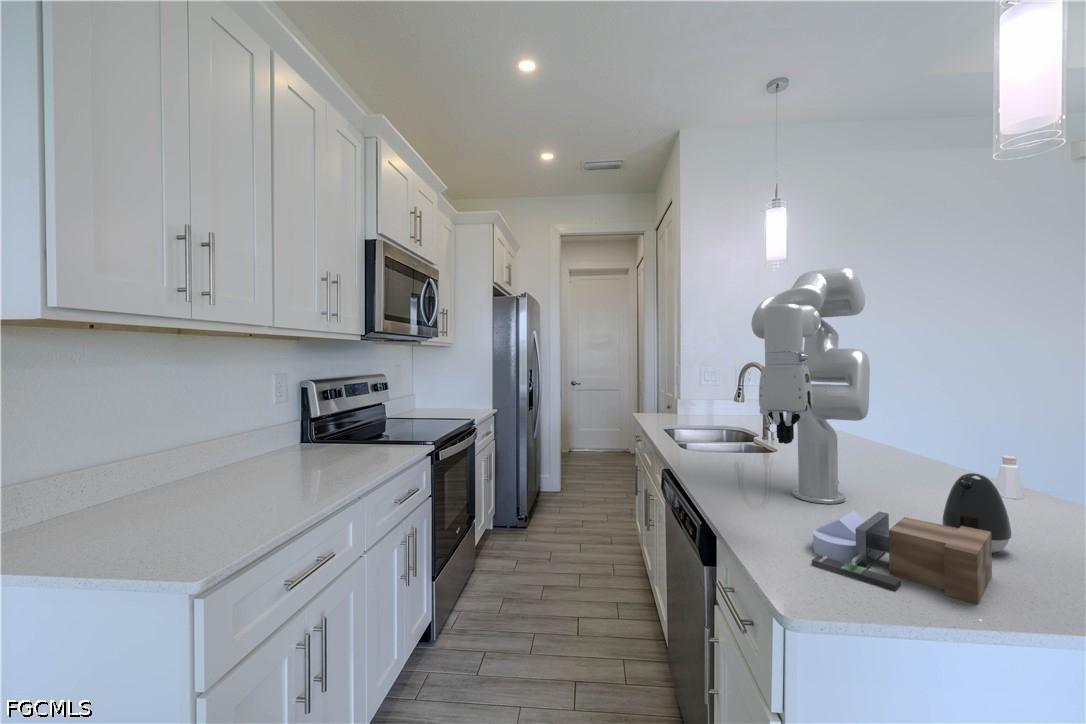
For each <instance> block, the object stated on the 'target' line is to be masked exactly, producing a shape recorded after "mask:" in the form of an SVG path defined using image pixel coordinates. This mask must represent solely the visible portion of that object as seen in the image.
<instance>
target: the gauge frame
mask: <svg viewBox="0 0 1086 724" xmlns="http://www.w3.org/2000/svg"><path fill="white" fill-rule="evenodd" d="M888 562H889V563H888V569H889V570H888V571H889V572H888V573H889V575H886V574H883V573H879V572H877V571H872V570H869V569H868V568H867V569H866V568H864V567H860V566H857V565H856V566H855V565H852V564H851V563H847V562H840V561H836V560H833V559H829V558H828V557H826V556H824V557H823V556H821V555H819V554H817V555H816V556H815V557H814V558H812V559H811V566H814V567H818V568H821V569H824V570H827V571H831V572H834V573H837V574H840V575H843V576H845V577H850V578H853V579H856V580H859V581H863V582H865V583H869V584H871V585H875V586H879V587H882V588H885V589H887V590H888V589H889V590H891V591H894V592H896V591H898V589H899V588H900V587H901V586H902V580H901V579H900V578H902V579H906V580H909V581H913V582H915V583H920V584H923V585H926V586H930V587H933V588H937V589H940V590H944V595H945V596H947V595H948V596H949V597H951V596H952V598H954V597H955V598H954V599H957V598H958V600H961V599H962V600H961V601H964V600H965V601H964V602H967V601H968V602H969V603H971V602H972V603H971V604H974V603H976V604H975V605H979V603H980V602H981V599H982V597H983V596H984V593H985V592H984V591H986V590H985V589H987V588H986V587H988V586H987V585H989V584H988V583H990V582H989V581H991V580H992V578H993V563H992V562H993V553H992V539H991V532H990V531H985V530H980V529H975V528H970V527H965V526H961V527H960V528H955V527H950V526H945V525H943V524H940V523H935V522H930V521H926V520H920V519H915V518H911V517H902V518H901V519H900V520H899V521H898V522H896V523H895V524H894V525H893V526H891V528H890V527H889V553H888ZM890 575H892V576H890ZM894 576H895V577H894ZM897 577H900V578H897ZM991 577H992V578H991ZM990 579H991V580H990Z"/></svg>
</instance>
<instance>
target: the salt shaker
mask: <svg viewBox="0 0 1086 724" xmlns="http://www.w3.org/2000/svg"><path fill="white" fill-rule="evenodd" d="M1001 459H1002V464H999V470H998V471H999V472H998V478H997V479H998V480H997V486H996V488H997V490H998V492H999V494H1000V496H1001V498H1004V499H1010V500H1011V499H1012V500H1024V492H1023V488H1022V487H1023V486H1022V485H1023V484H1022V479H1021V473H1020V469H1019V465H1017V457H1016V456H1013V455H1002V456H1001Z"/></svg>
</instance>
